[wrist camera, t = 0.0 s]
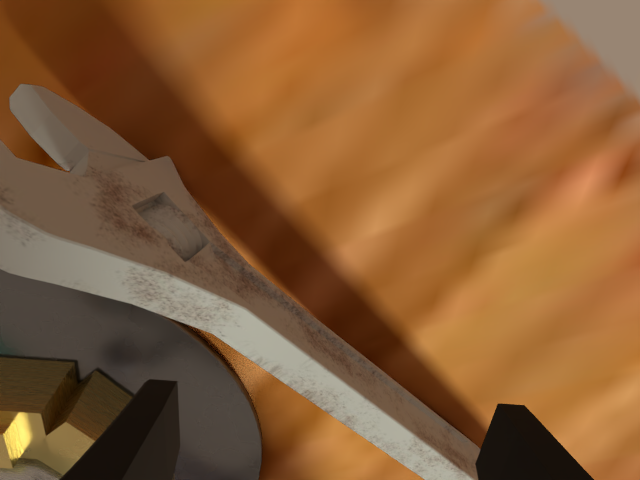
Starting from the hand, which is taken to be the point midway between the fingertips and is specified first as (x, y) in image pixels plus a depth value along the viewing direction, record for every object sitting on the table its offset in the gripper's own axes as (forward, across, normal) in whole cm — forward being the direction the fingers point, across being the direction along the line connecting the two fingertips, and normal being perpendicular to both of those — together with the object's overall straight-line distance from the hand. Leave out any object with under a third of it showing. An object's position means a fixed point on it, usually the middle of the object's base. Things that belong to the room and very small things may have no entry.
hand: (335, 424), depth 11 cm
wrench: (+10, 0, +5) cm, 11 cm away
